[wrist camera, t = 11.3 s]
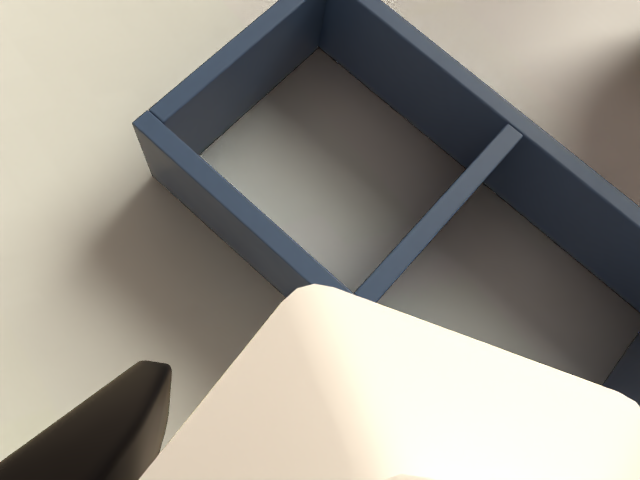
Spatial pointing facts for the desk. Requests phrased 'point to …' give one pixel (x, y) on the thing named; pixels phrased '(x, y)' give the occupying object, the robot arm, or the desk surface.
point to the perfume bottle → (395, 406)
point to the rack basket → (419, 109)
